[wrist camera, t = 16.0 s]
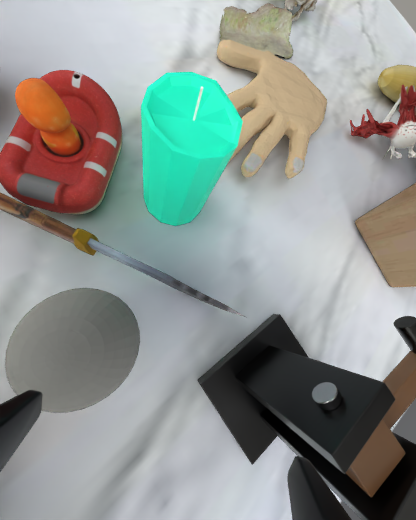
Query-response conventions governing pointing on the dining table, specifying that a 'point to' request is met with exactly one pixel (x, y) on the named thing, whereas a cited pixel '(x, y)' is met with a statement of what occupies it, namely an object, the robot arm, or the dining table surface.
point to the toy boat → (61, 143)
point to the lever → (388, 419)
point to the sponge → (259, 29)
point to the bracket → (309, 415)
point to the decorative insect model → (307, 3)
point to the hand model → (273, 106)
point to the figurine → (394, 125)
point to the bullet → (397, 80)
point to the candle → (185, 143)
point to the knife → (96, 246)
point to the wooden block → (393, 237)
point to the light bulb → (73, 349)
